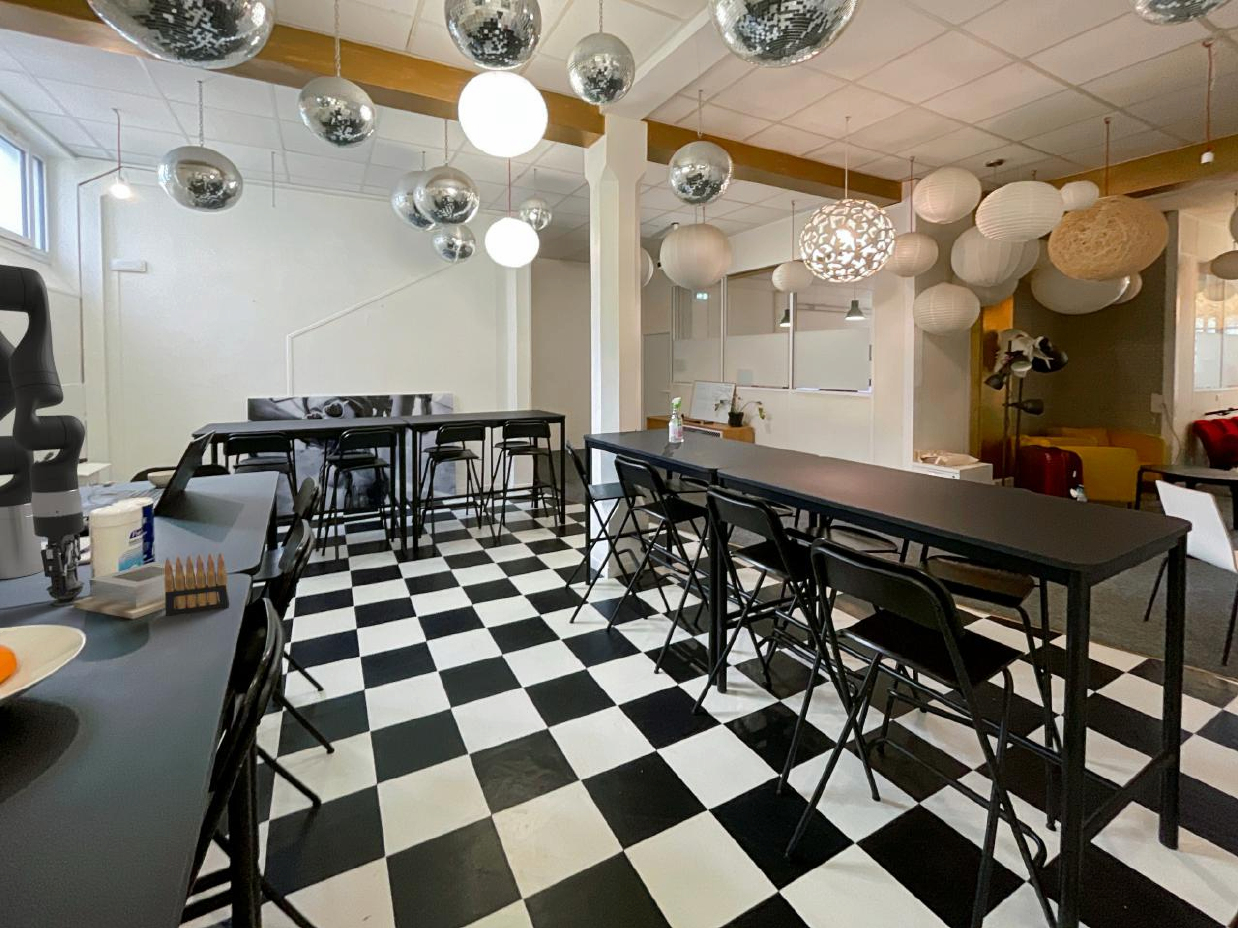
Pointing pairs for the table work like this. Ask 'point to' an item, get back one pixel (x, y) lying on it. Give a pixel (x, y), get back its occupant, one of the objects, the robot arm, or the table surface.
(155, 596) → the square socket
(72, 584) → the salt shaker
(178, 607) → the ammunition clip
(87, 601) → the base board
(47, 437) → the robot arm
